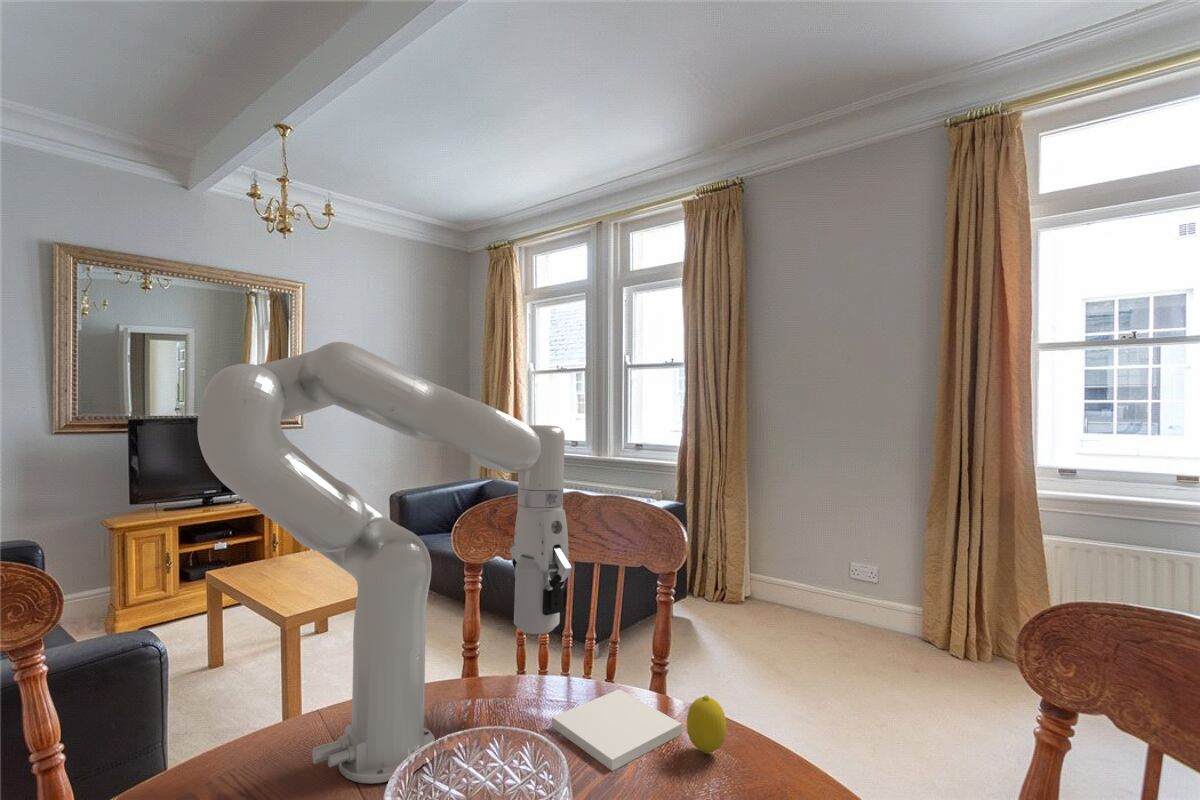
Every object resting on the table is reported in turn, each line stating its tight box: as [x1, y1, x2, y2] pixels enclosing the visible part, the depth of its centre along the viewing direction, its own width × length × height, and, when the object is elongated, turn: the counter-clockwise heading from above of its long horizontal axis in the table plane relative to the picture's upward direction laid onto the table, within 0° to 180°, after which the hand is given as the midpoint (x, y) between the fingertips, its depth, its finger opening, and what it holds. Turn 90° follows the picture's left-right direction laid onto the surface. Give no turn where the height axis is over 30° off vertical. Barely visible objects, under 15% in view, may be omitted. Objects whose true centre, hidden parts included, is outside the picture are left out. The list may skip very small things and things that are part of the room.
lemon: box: [686, 695, 727, 755], centre depth 80 cm, size 6×6×8 cm
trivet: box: [551, 688, 683, 772], centre depth 85 cm, size 14×14×2 cm
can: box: [513, 555, 561, 635], centre depth 93 cm, size 8×8×12 cm
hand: (537, 606), depth 93 cm, fingers closed on can, 7 cm apart
